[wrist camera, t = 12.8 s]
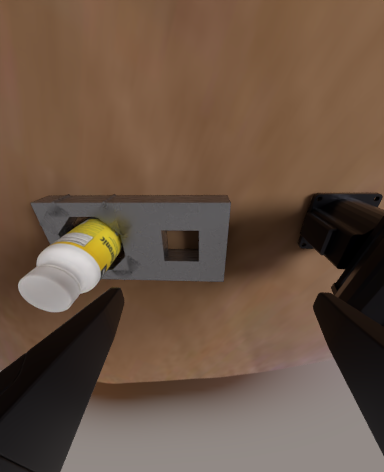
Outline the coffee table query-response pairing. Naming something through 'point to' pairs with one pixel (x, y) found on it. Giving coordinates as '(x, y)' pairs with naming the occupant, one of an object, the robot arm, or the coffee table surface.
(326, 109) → the coffee table surface
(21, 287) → the supplement bottle
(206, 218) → the socket plate
